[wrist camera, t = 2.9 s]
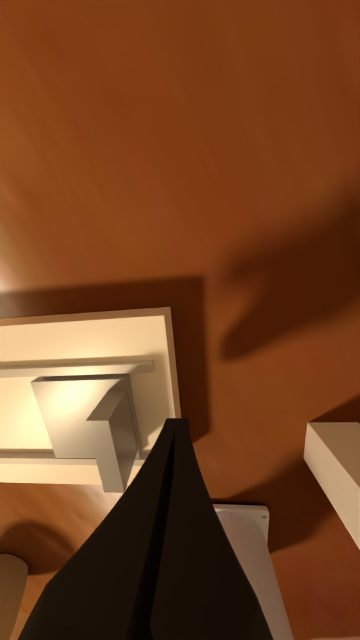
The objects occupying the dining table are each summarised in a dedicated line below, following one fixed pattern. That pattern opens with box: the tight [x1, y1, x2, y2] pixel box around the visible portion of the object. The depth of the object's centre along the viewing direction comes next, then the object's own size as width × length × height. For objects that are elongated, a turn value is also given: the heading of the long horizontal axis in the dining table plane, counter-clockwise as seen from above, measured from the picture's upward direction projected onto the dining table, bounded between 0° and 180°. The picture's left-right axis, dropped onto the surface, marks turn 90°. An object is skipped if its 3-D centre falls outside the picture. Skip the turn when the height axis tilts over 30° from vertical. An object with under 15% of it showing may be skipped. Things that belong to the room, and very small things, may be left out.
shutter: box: [30, 374, 142, 493], centre depth 11 cm, size 6×6×3 cm
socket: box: [0, 307, 181, 485], centre depth 14 cm, size 14×18×4 cm
